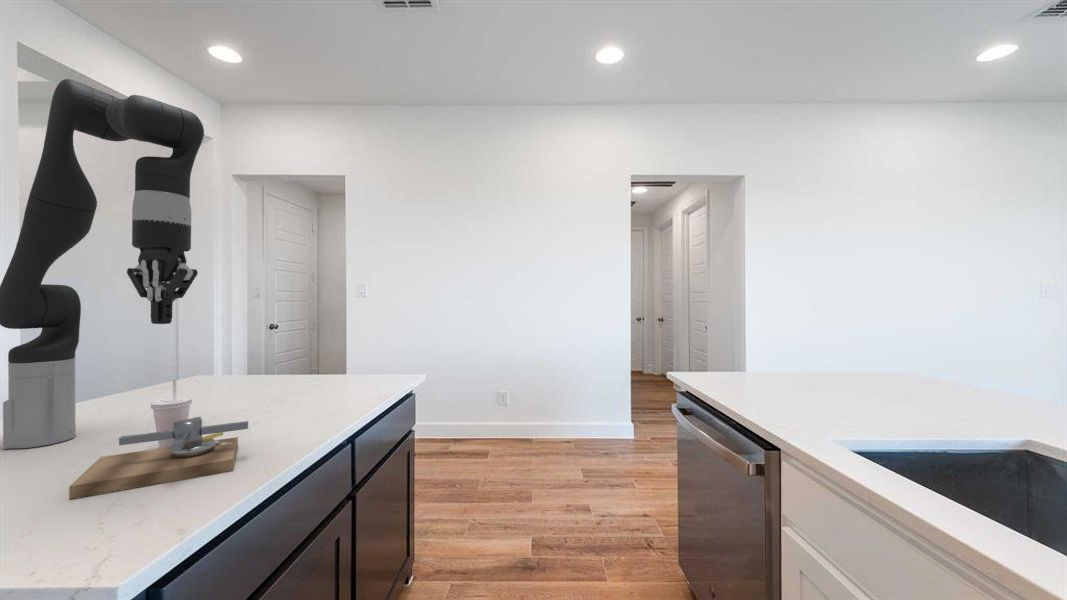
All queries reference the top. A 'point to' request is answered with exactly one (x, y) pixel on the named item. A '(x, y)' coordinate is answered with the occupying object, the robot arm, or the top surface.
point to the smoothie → (170, 413)
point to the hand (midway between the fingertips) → (161, 323)
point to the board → (152, 468)
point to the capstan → (187, 436)
